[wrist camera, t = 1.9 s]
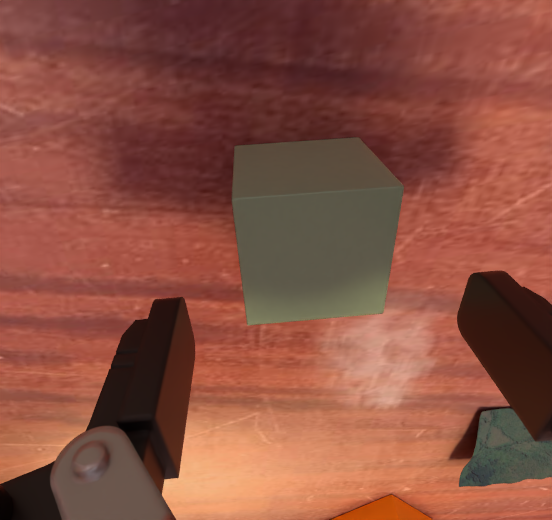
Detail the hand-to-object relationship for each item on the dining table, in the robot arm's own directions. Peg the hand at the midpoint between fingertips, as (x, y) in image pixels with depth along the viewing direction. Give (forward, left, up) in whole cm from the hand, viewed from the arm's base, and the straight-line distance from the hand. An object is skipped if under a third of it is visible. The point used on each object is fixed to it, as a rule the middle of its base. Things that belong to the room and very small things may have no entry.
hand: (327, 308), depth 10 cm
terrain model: (+22, +19, -7) cm, 30 cm away
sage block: (0, 0, -7) cm, 7 cm away
